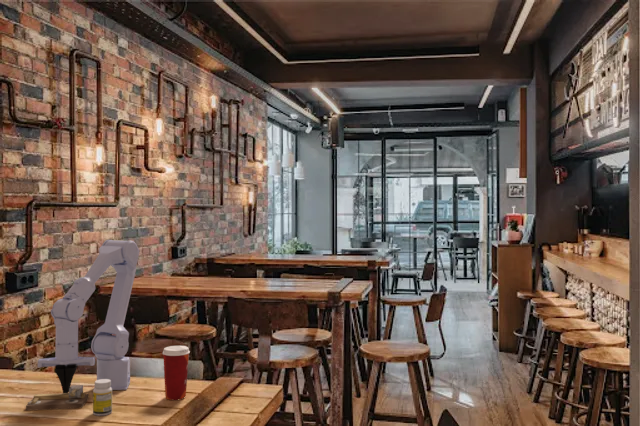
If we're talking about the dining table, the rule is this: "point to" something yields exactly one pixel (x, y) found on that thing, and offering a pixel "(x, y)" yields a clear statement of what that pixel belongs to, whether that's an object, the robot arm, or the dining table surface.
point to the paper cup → (175, 371)
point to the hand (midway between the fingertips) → (66, 392)
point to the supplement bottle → (102, 397)
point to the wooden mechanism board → (56, 401)
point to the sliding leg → (75, 391)
